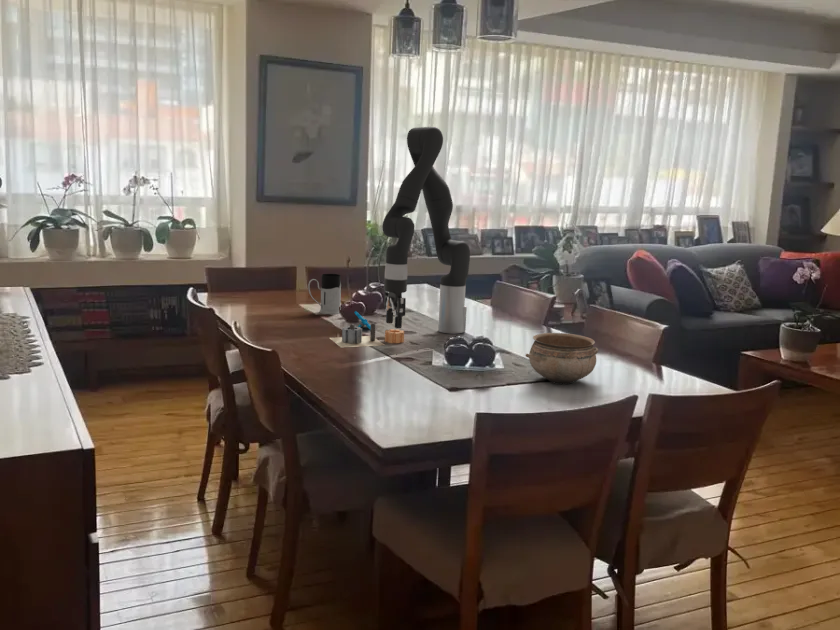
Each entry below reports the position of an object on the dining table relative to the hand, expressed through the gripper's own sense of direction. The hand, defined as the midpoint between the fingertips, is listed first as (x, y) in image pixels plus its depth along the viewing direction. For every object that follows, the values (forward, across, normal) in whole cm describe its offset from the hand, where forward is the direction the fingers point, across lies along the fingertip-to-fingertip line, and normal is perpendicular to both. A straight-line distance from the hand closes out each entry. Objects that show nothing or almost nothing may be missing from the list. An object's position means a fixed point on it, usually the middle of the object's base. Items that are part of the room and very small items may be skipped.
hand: (393, 325), depth 254 cm
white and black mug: (+6, +58, +8) cm, 59 cm away
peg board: (+7, +2, +12) cm, 14 cm away
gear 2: (+6, 0, -1) cm, 7 cm away
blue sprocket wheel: (+7, +21, +3) cm, 22 cm away
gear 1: (+6, +2, +14) cm, 15 cm away
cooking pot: (+6, -53, -32) cm, 62 cm away
